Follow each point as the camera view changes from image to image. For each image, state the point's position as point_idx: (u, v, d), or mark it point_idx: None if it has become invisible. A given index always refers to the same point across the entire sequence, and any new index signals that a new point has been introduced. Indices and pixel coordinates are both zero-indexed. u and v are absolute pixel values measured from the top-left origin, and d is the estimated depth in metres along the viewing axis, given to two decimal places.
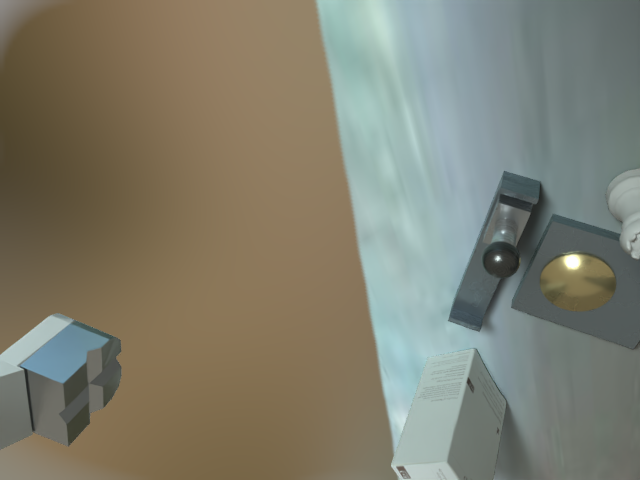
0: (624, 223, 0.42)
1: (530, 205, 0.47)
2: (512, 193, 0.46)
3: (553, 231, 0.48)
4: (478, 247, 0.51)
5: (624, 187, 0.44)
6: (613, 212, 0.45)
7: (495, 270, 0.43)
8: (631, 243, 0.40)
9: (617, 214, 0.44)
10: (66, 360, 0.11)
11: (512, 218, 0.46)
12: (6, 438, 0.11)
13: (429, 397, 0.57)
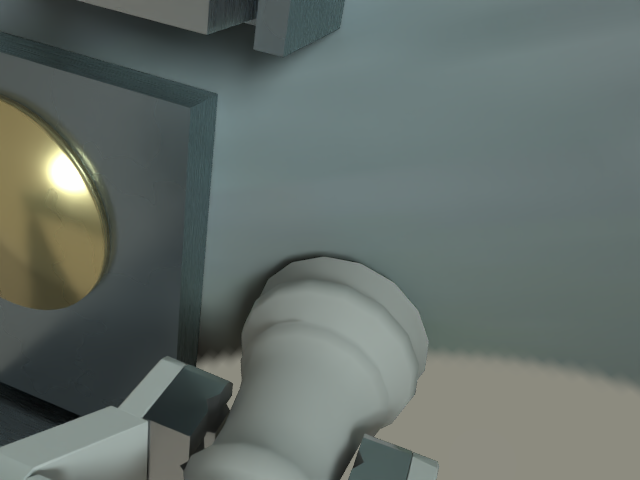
0: (259, 460, 0.09)
1: (239, 17, 0.09)
2: None
3: (151, 115, 0.12)
4: None
5: (374, 339, 0.12)
6: (273, 309, 0.13)
7: None
8: None
9: (272, 336, 0.12)
10: (188, 409, 0.11)
11: None
12: None
13: None
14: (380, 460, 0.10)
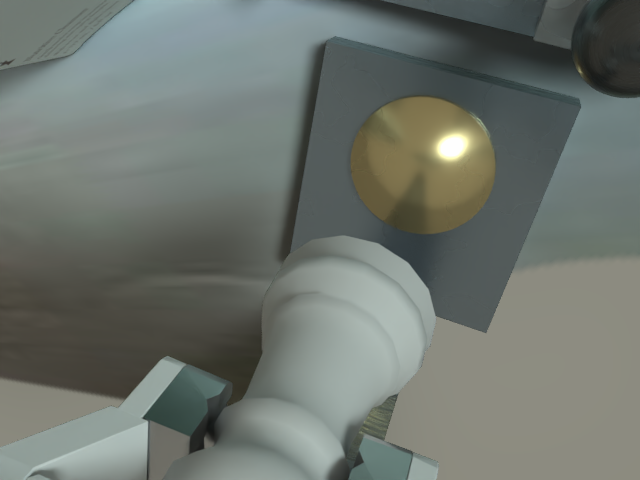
0: (289, 413, 0.10)
1: None
2: None
3: (551, 111, 0.22)
4: None
5: (390, 312, 0.13)
6: (296, 281, 0.14)
7: None
8: None
9: (295, 305, 0.13)
10: (188, 409, 0.11)
11: None
12: None
13: None
14: (380, 460, 0.10)
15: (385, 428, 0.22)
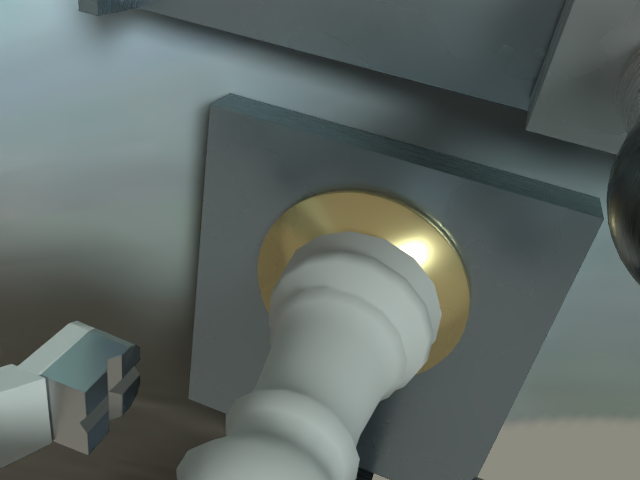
0: (300, 404, 0.11)
1: None
2: None
3: (556, 222, 0.14)
4: None
5: (397, 307, 0.13)
6: (304, 276, 0.14)
7: None
8: None
9: (304, 300, 0.13)
10: (87, 368, 0.11)
11: None
12: (26, 446, 0.11)
13: None
14: None
15: None
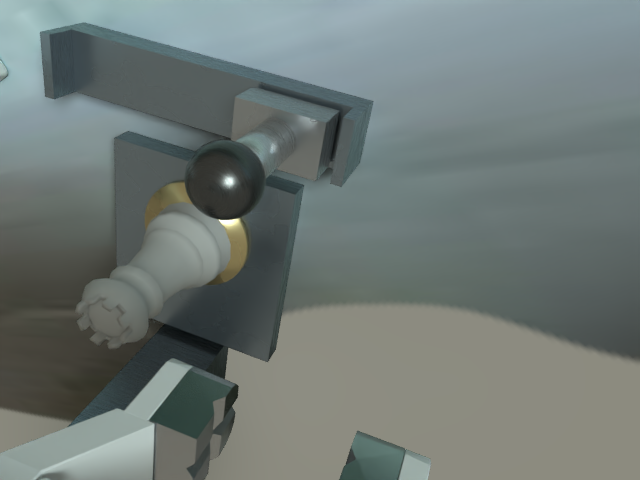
0: (135, 270, 0.25)
1: (324, 169, 0.25)
2: (346, 142, 0.24)
3: (276, 196, 0.28)
4: (214, 74, 0.26)
5: (198, 237, 0.28)
6: (156, 223, 0.29)
7: (204, 188, 0.19)
8: (100, 300, 0.24)
9: (153, 233, 0.28)
10: (194, 412, 0.11)
11: (297, 149, 0.24)
12: None
13: None
14: (372, 457, 0.10)
15: None
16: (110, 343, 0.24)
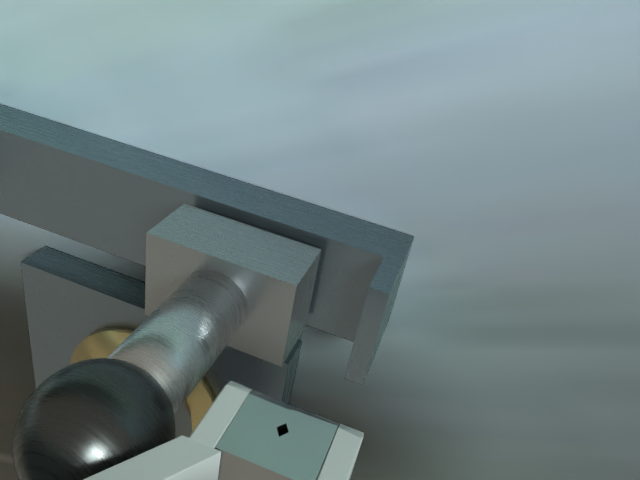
0: None
1: (297, 338, 0.16)
2: (372, 324, 0.14)
3: (259, 363, 0.18)
4: (159, 189, 0.16)
5: None
6: None
7: None
8: None
9: None
10: (260, 439, 0.10)
11: (251, 318, 0.14)
12: None
13: None
14: (305, 430, 0.11)
15: None
16: None
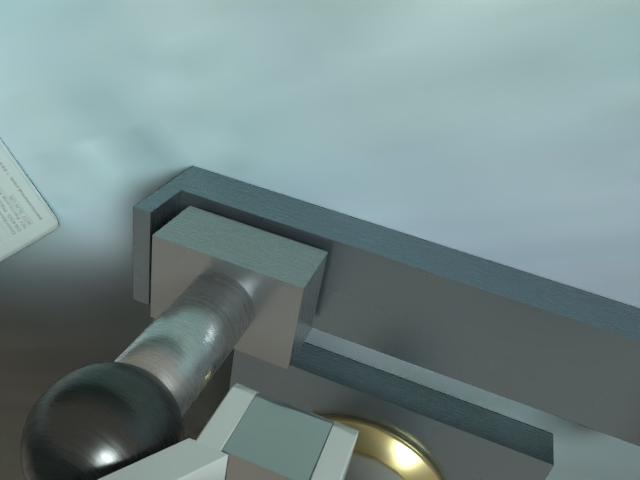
0: None
1: (303, 341, 0.16)
2: None
3: (516, 462, 0.17)
4: (444, 284, 0.15)
5: None
6: None
7: None
8: None
9: None
10: (266, 441, 0.10)
11: (256, 321, 0.14)
12: None
13: None
14: (300, 428, 0.11)
15: None
16: None
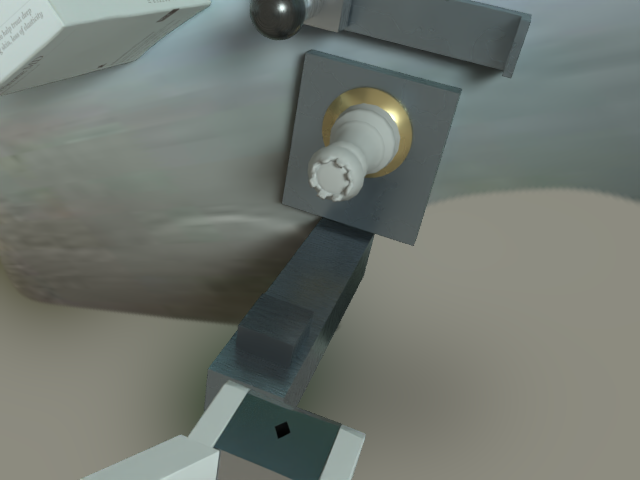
0: (348, 144, 0.32)
1: (343, 27, 0.34)
2: (520, 40, 0.31)
3: (443, 96, 0.35)
4: None
5: (381, 127, 0.35)
6: (345, 118, 0.36)
7: (265, 8, 0.28)
8: (330, 161, 0.31)
9: (345, 124, 0.35)
10: (258, 438, 0.10)
11: (324, 7, 0.33)
12: None
13: None
14: (307, 431, 0.11)
15: (340, 291, 0.36)
16: (335, 196, 0.32)
